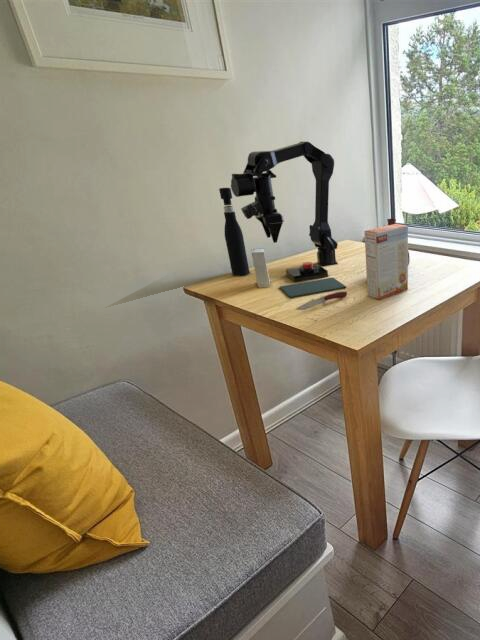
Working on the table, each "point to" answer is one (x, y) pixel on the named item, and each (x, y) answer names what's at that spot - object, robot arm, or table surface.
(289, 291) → the mat
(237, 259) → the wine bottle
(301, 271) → the control block
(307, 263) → the button
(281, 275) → the table surface
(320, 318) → the table surface
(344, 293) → the knife
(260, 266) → the cosmetic box
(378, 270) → the cracker box
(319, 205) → the robot arm
